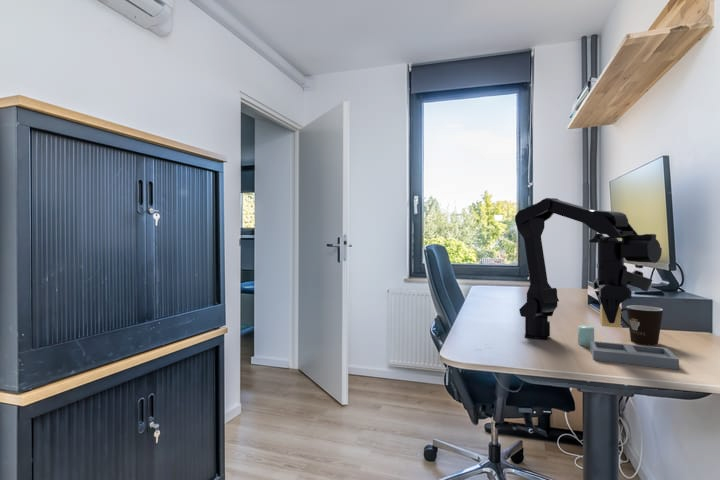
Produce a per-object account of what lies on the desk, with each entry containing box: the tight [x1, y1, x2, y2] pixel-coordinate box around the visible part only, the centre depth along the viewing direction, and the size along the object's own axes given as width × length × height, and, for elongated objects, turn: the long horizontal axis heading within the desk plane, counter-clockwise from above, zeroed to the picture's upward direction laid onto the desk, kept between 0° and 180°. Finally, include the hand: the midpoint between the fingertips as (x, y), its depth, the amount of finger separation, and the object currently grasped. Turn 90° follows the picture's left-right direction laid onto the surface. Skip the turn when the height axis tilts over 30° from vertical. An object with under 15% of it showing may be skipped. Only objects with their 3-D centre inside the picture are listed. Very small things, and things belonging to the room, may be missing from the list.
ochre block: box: [599, 303, 622, 328], centre depth 100 cm, size 4×4×5 cm
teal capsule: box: [577, 325, 595, 348], centre depth 111 cm, size 4×4×5 cm
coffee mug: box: [621, 304, 664, 347], centre depth 114 cm, size 12×9×10 cm
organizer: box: [589, 340, 680, 370], centre depth 98 cm, size 17×10×2 cm, turn 64°
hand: (610, 321), depth 100 cm, fingers closed on ochre block, 4 cm apart
